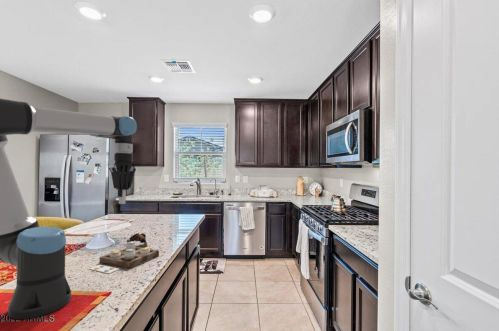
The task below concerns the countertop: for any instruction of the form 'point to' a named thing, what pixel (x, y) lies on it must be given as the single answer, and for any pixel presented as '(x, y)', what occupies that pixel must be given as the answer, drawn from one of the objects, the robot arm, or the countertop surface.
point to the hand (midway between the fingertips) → (122, 203)
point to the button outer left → (131, 245)
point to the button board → (132, 262)
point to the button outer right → (144, 251)
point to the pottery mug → (138, 238)
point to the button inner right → (129, 254)
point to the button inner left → (115, 254)
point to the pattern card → (104, 269)
